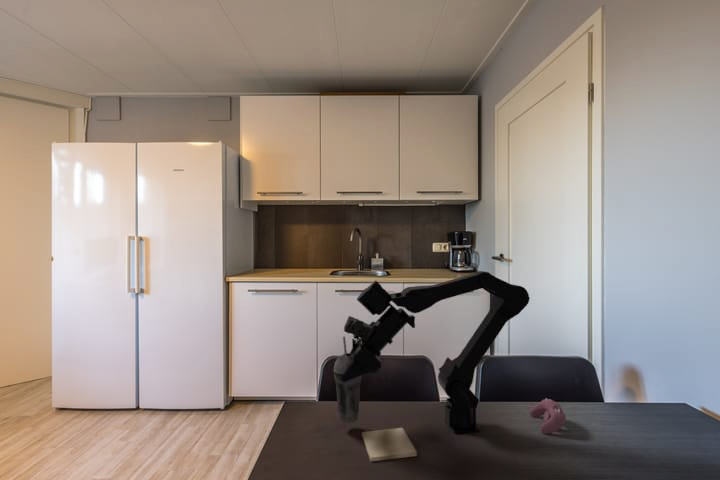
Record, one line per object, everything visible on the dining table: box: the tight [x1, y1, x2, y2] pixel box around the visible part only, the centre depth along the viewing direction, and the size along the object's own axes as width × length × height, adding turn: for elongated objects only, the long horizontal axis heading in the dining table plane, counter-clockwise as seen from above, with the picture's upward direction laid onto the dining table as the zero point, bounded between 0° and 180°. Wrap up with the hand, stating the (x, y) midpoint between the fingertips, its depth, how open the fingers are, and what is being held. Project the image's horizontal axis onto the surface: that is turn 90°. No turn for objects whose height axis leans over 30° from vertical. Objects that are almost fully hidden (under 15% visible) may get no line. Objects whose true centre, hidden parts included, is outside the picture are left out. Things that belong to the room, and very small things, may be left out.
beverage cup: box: [332, 336, 363, 424], centre depth 83 cm, size 7×7×20 cm
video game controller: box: [529, 397, 567, 435], centre depth 83 cm, size 10×5×7 cm, turn 169°
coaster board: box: [361, 427, 418, 462], centre depth 75 cm, size 10×10×1 cm
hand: (342, 374), depth 83 cm, fingers closed on beverage cup, 7 cm apart
